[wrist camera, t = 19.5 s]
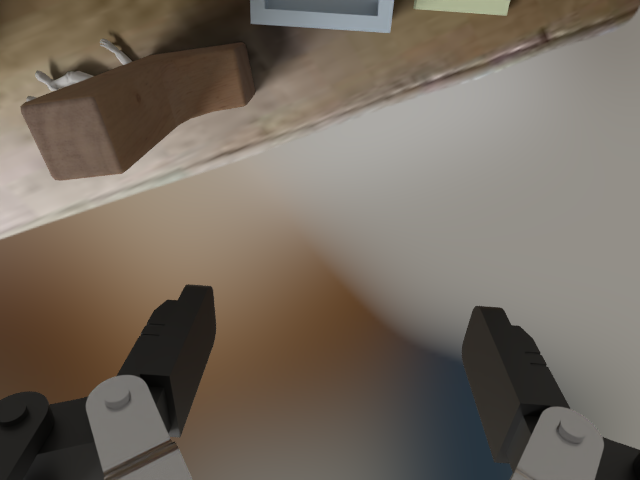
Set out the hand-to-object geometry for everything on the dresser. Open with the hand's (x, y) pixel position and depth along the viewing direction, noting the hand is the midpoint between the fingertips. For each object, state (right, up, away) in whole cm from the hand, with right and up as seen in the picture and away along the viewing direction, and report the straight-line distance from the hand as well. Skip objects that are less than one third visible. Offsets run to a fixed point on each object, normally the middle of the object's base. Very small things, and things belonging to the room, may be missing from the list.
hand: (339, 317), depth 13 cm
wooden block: (-11, +17, +26) cm, 33 cm away
